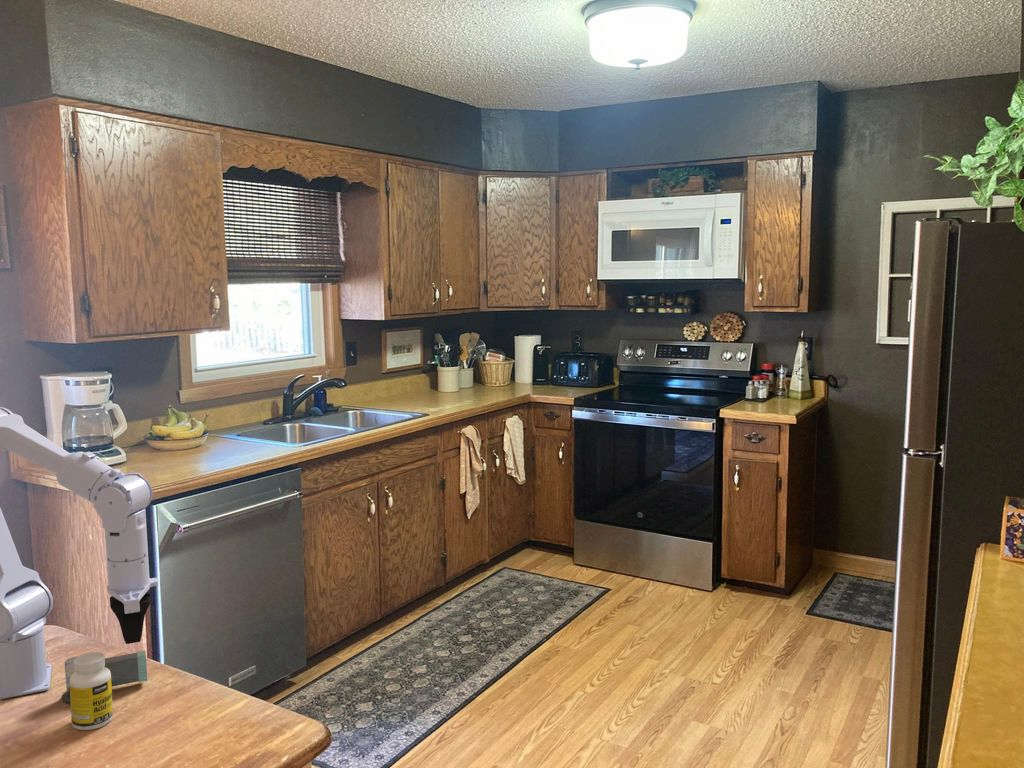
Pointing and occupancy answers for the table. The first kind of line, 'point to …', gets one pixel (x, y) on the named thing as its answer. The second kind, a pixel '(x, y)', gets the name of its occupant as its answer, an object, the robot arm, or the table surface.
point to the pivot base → (66, 698)
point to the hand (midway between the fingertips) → (132, 641)
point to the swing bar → (117, 669)
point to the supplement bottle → (90, 692)
